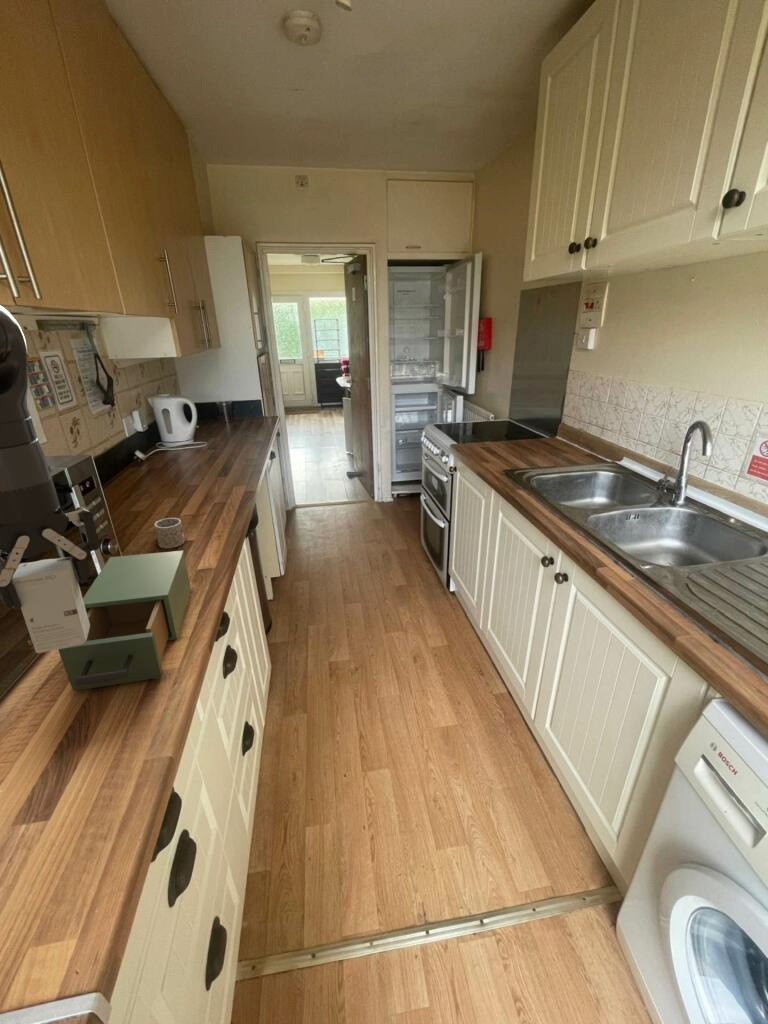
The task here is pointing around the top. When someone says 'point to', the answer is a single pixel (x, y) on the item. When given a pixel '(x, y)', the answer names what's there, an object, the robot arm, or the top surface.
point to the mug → (169, 532)
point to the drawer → (119, 645)
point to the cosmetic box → (51, 603)
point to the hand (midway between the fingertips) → (50, 592)
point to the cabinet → (144, 584)
